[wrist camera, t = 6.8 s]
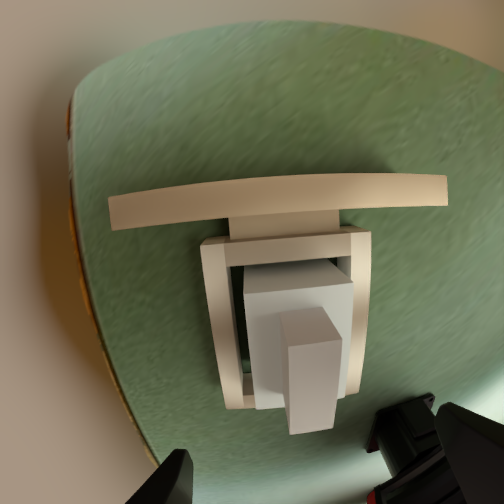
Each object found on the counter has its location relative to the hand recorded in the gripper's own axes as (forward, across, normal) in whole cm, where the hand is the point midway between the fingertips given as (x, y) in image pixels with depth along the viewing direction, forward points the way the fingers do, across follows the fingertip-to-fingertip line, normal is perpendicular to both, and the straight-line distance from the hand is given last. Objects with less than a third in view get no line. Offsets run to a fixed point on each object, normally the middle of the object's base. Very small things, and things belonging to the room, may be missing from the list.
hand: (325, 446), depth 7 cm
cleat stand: (+11, 0, -1) cm, 11 cm away
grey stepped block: (+11, 0, 0) cm, 11 cm away
